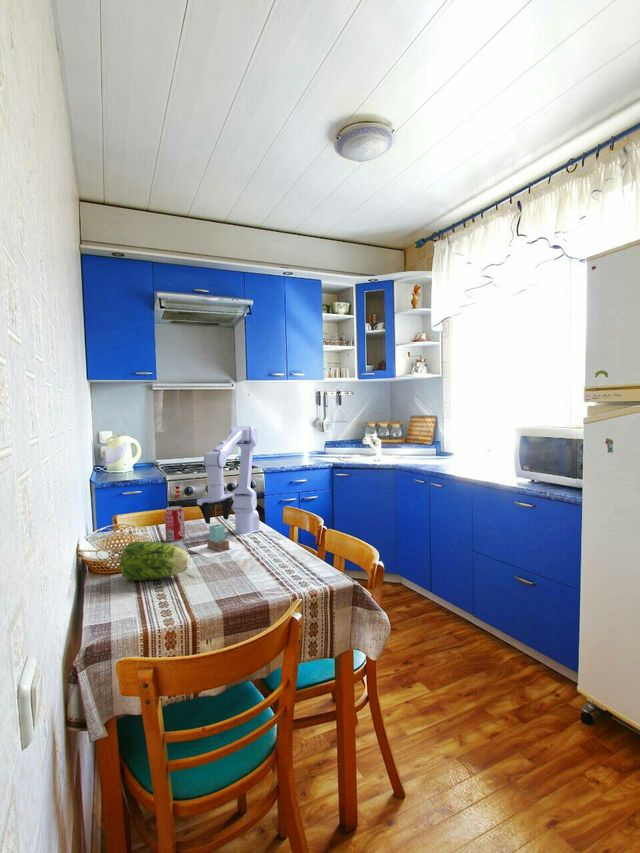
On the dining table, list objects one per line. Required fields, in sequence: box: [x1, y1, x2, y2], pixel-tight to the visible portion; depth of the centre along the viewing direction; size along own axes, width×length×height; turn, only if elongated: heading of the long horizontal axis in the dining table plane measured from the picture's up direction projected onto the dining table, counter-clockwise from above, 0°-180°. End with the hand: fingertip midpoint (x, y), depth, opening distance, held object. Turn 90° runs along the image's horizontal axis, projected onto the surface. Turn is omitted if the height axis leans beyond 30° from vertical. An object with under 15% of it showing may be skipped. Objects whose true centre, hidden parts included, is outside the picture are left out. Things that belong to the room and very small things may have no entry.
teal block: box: [208, 524, 226, 542], centre depth 166 cm, size 4×4×5 cm
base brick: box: [207, 538, 230, 552], centre depth 166 cm, size 4×8×3 cm, turn 45°
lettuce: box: [119, 541, 191, 581], centre depth 139 cm, size 12×21×11 cm, turn 90°
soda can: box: [164, 505, 186, 543], centre depth 179 cm, size 7×7×13 cm
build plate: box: [188, 538, 246, 558], centre depth 167 cm, size 16×14×1 cm
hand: (216, 521), depth 167 cm, fingers open, 7 cm apart
